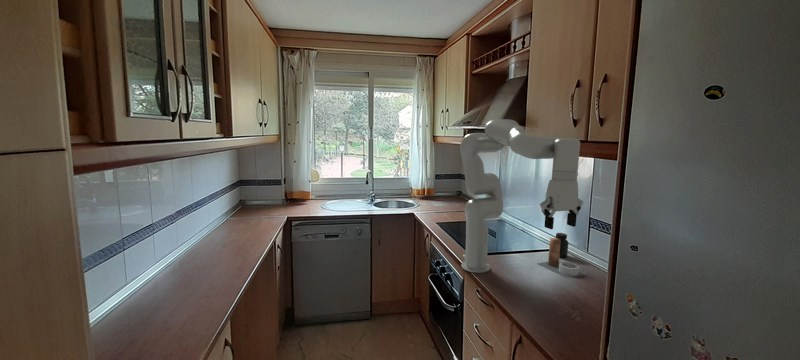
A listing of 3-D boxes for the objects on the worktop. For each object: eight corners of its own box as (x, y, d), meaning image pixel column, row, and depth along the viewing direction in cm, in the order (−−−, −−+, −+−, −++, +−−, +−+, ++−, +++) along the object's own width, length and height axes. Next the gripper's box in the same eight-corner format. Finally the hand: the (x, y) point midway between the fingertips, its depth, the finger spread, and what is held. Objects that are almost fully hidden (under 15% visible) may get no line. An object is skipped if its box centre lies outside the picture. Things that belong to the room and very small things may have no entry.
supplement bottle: (549, 257, 171) (550, 233, 170) (556, 254, 175) (558, 231, 174) (562, 261, 166) (564, 237, 164) (569, 258, 170) (571, 234, 168)
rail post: (545, 263, 160) (547, 238, 158) (553, 262, 162) (555, 237, 160) (553, 267, 156) (555, 241, 154) (560, 266, 158) (562, 240, 156)
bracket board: (536, 265, 160) (537, 257, 160) (556, 262, 165) (556, 254, 164) (566, 280, 145) (567, 271, 144) (587, 276, 149) (588, 267, 149)
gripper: (575, 173, 120) (570, 222, 123) (535, 175, 114) (531, 226, 117) (593, 176, 113) (588, 227, 116) (552, 178, 107) (548, 232, 110)
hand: (560, 226), depth 116 cm, fingers open, 9 cm apart
